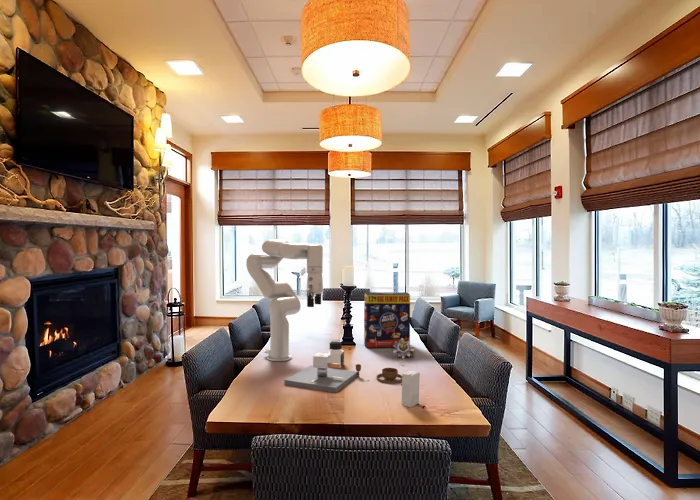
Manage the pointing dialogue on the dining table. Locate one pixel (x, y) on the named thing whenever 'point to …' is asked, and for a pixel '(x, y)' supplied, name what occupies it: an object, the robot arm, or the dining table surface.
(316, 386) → the base board
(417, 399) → the skincare box
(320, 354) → the mallet
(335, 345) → the medicine bottle
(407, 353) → the passion flower
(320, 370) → the steel post
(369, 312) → the cereal box
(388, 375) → the tea set
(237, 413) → the dining table surface
